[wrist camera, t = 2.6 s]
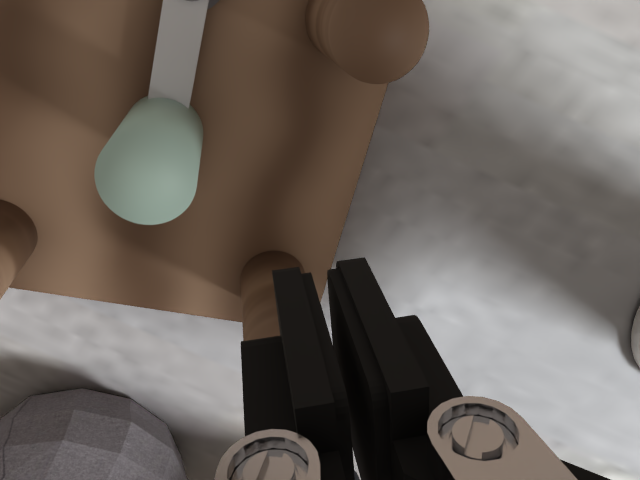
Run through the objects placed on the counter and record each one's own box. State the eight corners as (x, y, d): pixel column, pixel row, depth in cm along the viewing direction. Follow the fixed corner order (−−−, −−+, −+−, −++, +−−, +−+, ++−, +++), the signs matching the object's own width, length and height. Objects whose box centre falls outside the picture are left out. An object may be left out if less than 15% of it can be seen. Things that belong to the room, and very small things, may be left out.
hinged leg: (151, -64, 24) (126, -78, 17) (238, -38, 25) (242, -42, 18) (119, 159, 27) (88, 214, 21) (195, 175, 28) (187, 232, 22)
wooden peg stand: (407, -30, 29) (486, -33, 20) (305, 310, 36) (330, 414, 27) (-36, -174, 24) (-182, -257, 15) (-49, 254, 31) (-152, 359, 23)
